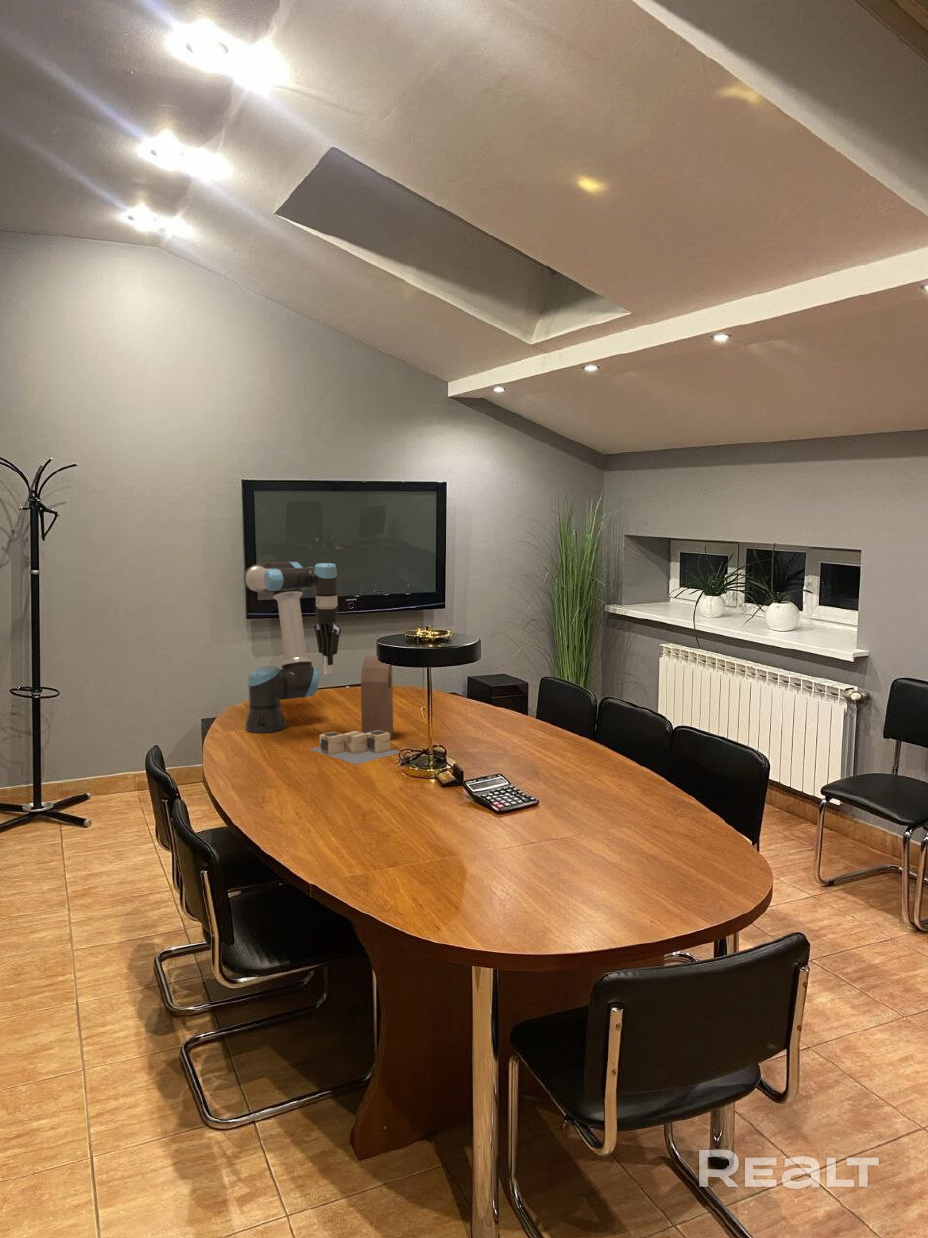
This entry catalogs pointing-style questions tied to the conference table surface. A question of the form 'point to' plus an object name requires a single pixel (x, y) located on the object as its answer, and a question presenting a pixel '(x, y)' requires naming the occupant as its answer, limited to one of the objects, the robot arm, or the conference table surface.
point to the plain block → (355, 742)
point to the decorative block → (376, 696)
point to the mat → (359, 755)
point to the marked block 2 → (378, 741)
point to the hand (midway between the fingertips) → (328, 673)
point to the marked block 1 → (331, 743)
